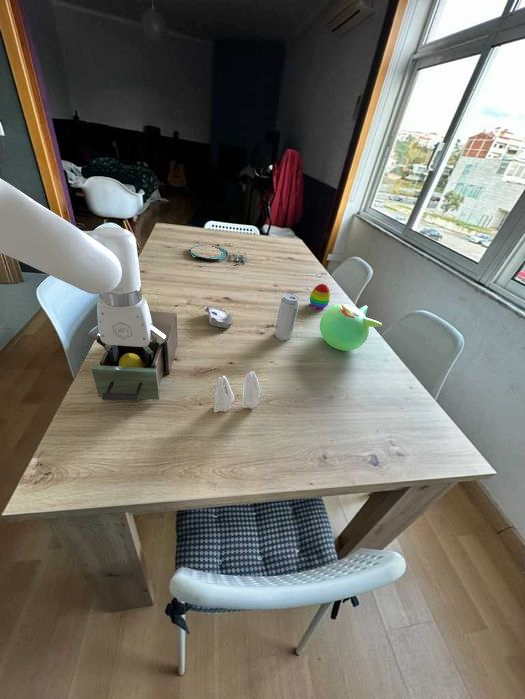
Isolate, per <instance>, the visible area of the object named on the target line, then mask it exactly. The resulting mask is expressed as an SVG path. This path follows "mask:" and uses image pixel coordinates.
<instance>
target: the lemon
mask: <svg viewBox="0 0 525 699" xmlns="http://www.w3.org/2000/svg"><path fill="white" fill-rule="evenodd" d="M118 367H134V368H144V365H143V362H142V360H141V358H140V357H139V356H138V355H136V354H133V353H128V354H125V355H123V356H122V357H121V358H120V360H119V363H118Z"/></svg>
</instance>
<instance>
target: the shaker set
mask: <svg viewBox="0 0 525 699" xmlns="http://www.w3.org/2000/svg"><path fill="white" fill-rule="evenodd" d="M214 393H215V394H214V404H213V412H214V413H217V412H227V411H230V410H231V409H232V408H233V406H234V405H233V402H234V401H235V400H236V398H235V395H234V393H233V391H232V388H231V386H230V384H229V380H228V379H227V377H226V376H225V375H222V376H221V377H220V376H218V377H217V379H216V382H215V387H214ZM261 396H262V392H261V389H260V384H259V380H258V377H257V375H256V373H255V371H254V370H251V371H250V372H247V373H246V375H245V377H244V379H243V384H242V398H241V405H240V406H241V408H242V409H245V408H247V409H254V408H256V407H257V406H258V405H259V403H261V402H260V397H261Z"/></svg>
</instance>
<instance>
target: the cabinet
mask: <svg viewBox="0 0 525 699" xmlns="http://www.w3.org/2000/svg"><path fill="white" fill-rule="evenodd" d="M149 311H150V315H151V320H152V326H153V327H154V328H156V329H157V330H159V331H160V332H161V333H163V334H164V335H165V336H166V339H165V341H164V342H163V343H162V344H161V345H164V350H165V364H166V365H165V369H164V372H163V375H168V376H169V375H170V373H171V369H172V366H173V361H174V358H175V354H176V351H177V348H178V342H179V340H178V316H177V315H178V314H177V312H170V311H169V312H167V311H156V310H149ZM156 339H157V338H155V337H154V336H153V335H152V336H151V340H152V342H153V341H154V340H156Z"/></svg>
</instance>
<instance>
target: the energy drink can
mask: <svg viewBox="0 0 525 699" xmlns="http://www.w3.org/2000/svg"><path fill="white" fill-rule="evenodd" d="M299 300H300V299H299V297H298V296H297V295H296V294H294V293H293V294H292V293H285V294H284V295H283V297H282V298H281V299H280V303H279V309H278V313H277V318H276V323H275V327H274V328H275V329H274V335H275V337H276V338H277V339H278V340H280V341H288V340H289V339H291V338H292V336H293V332H294V328H295V324H296V319H297V315H298V311H299V307H300V301H299Z"/></svg>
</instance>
